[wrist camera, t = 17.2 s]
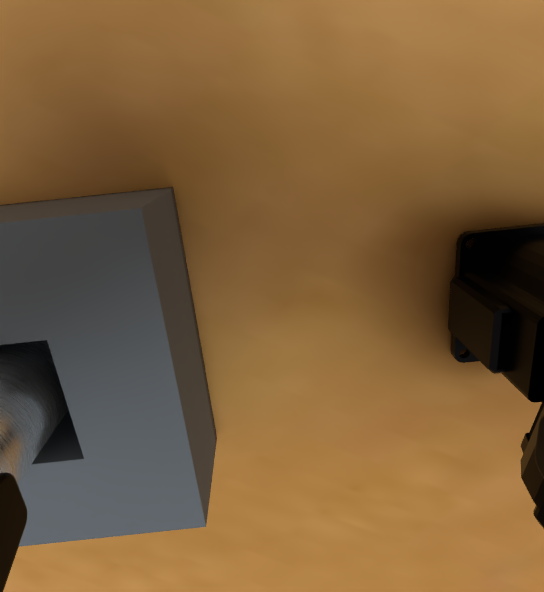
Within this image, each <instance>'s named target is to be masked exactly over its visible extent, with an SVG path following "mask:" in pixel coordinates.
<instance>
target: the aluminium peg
mask: <svg viewBox="0 0 544 592" xmlns="http://www.w3.org/2000/svg"><path fill="white" fill-rule="evenodd" d="M67 411H68V406H67V402H66V399H65V396H64V393H63V390H62V386H61V383H60V380H59V377H58V374H57V370H56V367H55V364H54V361H53V358H52V354H51V351H50V348H49V345H48V342H47V340H42V341H33V342H23V343H14V344H4V345H0V473H4V472H7V473H11V474H12V475H13V476H14V477H15V479H16V482H17V484H19V482H20V481H21V479H22V478H23V476H24V475H25V473H26V472H27V470H28V469H29V467H30V466H31V464H32V463H33V461H34V460H35V458H36V457H37V455H38V454H39V452H40V451H41V449H42V448H43V446H44V445H45V443H46V442H47V440H48V439H49V437H50V436H51V434H52V433H53V431H54V430H55V428H56V427H57V425H58V424H59V422H60V421H61V420H62V418H63V417H64V415H65V414H66V412H67Z"/></svg>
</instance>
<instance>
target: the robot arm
mask: <svg viewBox="0 0 544 592" xmlns="http://www.w3.org/2000/svg"><path fill="white" fill-rule="evenodd" d="M472 238H473V241H474V242H473V244H472V245H471V246H470V247H468V248H467V246H466V244H467V241H468V240H469V239H472ZM448 329H449V330H450V331H451V332H452V343H451V353H452V355H453V357H454V358H455V359H456V360H457V361H459V362H463V363H465V362H474V361H480V362H481V363H482V364H483V365H484V366H485V367H486V368H487V369H489V370H490V371H491V372H492V373H494V374H496V373H502V374H503V375H504V376H505V377H506V378H507V379H508V380H509V381H510V382H511V383H512V384H513V385H514V386H515V387H516V388H517V389H518V390H519V391H520V392H521V393H522V394H523V395H524V396H525V397H526V398H528V399H529V400H530V401H531V402H542V404H541V406H540V409H539V411H538V413H537V416H536V418H535V421H534V423H533V425H532V428H531V430H530V432H529V433H526V434H525V436H524V439H523V441H522V443H521V448H522V451H523V456H522V459H521V478H522V480H523V482H524V484H525V486H526V488H527V490H528V491H529V493H530V495H531V497H532V499H533V501H534V502H535V504H536V507H535V509H534V516H535V518H536V519H537V521H538V522H539V524H540V525H541V526H542V527H543V528H544V223H542V224H532V225H523V226H513V227H504V228H494V229H485V230H475V231H467V232H464V233H463V234H461V235H460V237H459V238H458V241H457V250H456V268H455V277H454V278H453V279H452V281H451V282H450V300H449V320H448ZM463 349H466V351H465V352H464V353H463V354H460V352H461V351H462V350H463ZM26 522H27V507H26V504H25V502H24V499H23V497H22V494H21V492H20V489H19V487H18V484H17V482H16V479H15V477H14V476H13V475H12V474H11V473H7V472H4V473H0V592H3V590H4V587H5V584H6V581H7V578H8V576H9V573H10V570H11V567H12V564H13V561H14V558H15V555H16V552H17V549H18V546H19V544H20V541H21V538H22V535H23V532H24V529H25V526H26Z"/></svg>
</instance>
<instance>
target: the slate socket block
mask: <svg viewBox="0 0 544 592" xmlns="http://www.w3.org/2000/svg"><path fill="white" fill-rule="evenodd" d="M42 340H47V342H48V345H49V348H50V351H51V354H52V358H53V361H54V364H55V367H56V370H57V374H58V377H59V380H60V383H61V386H62V390H63V393H64V396H65V399H66V402H67V406H68V411H67V412H66V414H65V415H64V417H63V418H62V420H61V421H60V422H59V424H58V425H57V427H56V428H55V430H54V431H53V433H52V434H51V436H50V437H49V439H48V440H47V442H46V443H45V445H44V446H43V448H42V449H41V451H40V452H39V454H38V455H37V457H36V458H35V460H34V461H33V463H32V464H31V466H30V467H29V469H28V470H27V472H26V473H25V475H24V476H23V478H22V479H21V481H20V482H19V484H18V487H19V489H20V492H21V494H22V497H23V499H24V502H25V504H26V507H27V522H26V526H25V529H24V532H23V535H22V538H21V541H20V544H19V546H28V545H38V544H47V543H57V542H66V541H75V540H85V539H94V538H104V537H113V536H123V535H132V534H141V533H151V532H160V531H170V530H179V529H188V528H198V527H206V522H207V514H208V506H209V498H210V490H211V482H212V473H213V465H214V457H215V449H216V441H217V437H216V431H215V425H214V419H213V414H212V408H211V402H210V397H209V391H208V385H207V379H206V374H205V368H204V362H203V357H202V351H201V345H200V339H199V334H198V328H197V322H196V316H195V311H194V305H193V299H192V294H191V288H190V282H189V276H188V271H187V265H186V259H185V254H184V248H183V242H182V236H181V231H180V225H179V219H178V213H177V208H176V202H175V196H174V191H173V187H169V188H160V189H150V190H141V191H131V192H121V193H112V194H102V195H93V196H83V197H74V198H64V199H55V200H45V201H36V202H26V203H17V204H7V205H0V345H4V344H14V343H23V342H33V341H42ZM19 546H18V547H19Z"/></svg>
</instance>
